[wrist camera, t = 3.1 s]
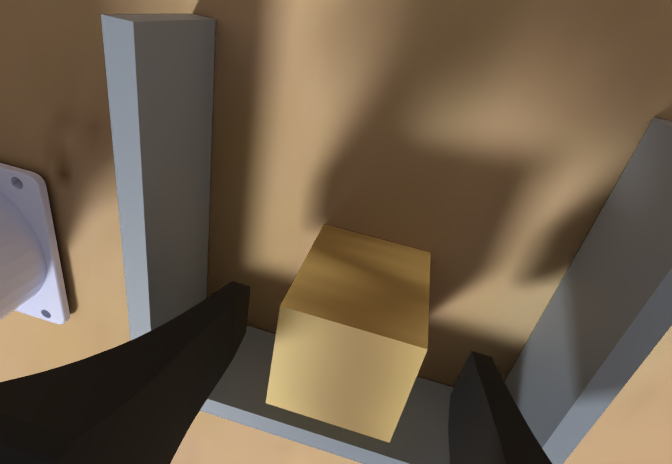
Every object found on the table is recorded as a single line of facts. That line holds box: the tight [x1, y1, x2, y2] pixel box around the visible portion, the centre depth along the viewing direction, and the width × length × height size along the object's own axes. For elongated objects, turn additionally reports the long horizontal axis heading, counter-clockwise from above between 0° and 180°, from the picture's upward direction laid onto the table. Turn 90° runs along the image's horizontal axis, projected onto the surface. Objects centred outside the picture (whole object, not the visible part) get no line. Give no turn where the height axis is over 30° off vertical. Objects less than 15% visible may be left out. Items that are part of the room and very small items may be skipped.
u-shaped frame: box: [101, 14, 672, 464], centre depth 14 cm, size 15×13×4 cm
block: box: [266, 224, 431, 443], centre depth 14 cm, size 4×4×5 cm
